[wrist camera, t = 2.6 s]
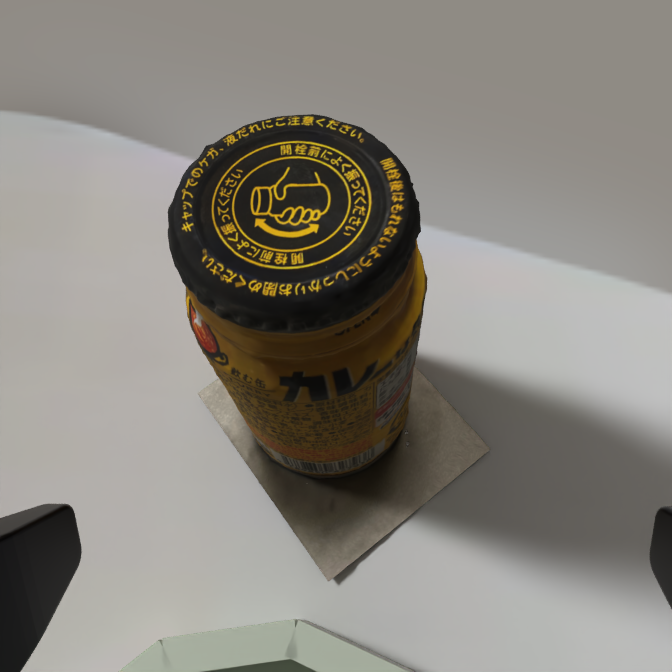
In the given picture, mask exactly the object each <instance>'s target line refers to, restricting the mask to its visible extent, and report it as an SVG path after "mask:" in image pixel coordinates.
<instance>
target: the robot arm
mask: <svg viewBox="0 0 672 672" xmlns="http://www.w3.org/2000/svg"><path fill="white" fill-rule="evenodd" d="M80 559H81V543H80V538H79V533H78V528H77V523H76V518H75V513H74V510H73V508H72V507H71V506H70V505H68V504H44V505H40V506H37V507H34V508H31V509H28V510H24V511H21V512H18V513H15V514H12V515H9V516H6V517H3V518H0V672H20V671H21V670H22V668H23V667H24V665H25V664H26V662H27V661H28V659H29V658H30V656H31V654H32V653H33V651H34V650H35V648H36V646H37V645H38V643H39V641H40V639H41V638H42V636H43V634H44V632H45V630H46V629H47V627H48V625H49V623H50V621H51V619H52V617H53V615H54V613H55V611H56V609H57V607H58V605H59V603H60V601H61V599H62V597H63V595H64V593H65V591H66V589H67V588H68V586H69V584H70V582H71V580H72V578H73V576H74V574H75V572H76V570H77V568H78V566H79V563H80ZM650 563H651V567H652V570H653V573H654V575H655V577H656V579H657V581H658V583H659V585H660V587H661V589H662V591H663V593H664V595H665V597H666V599H667V601H668V603H669V605H670V607H671V609H672V506H664V507H661V508H660V509H659V510H658V511H657V514H656V517H655V523H654V529H653V535H652V541H651V547H650Z"/></svg>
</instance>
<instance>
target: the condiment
mask: <svg viewBox="0 0 672 672" xmlns="http://www.w3.org/2000/svg"><path fill="white" fill-rule="evenodd" d="M168 222H169V228H168V239H169V247H170V251H171V254H172V258H173V261H174V264H175V267H176V268H177V270H178V272H179V274H180V276H181V279H182V282H183V283H184V284H185V286H186V306H187V315H188V318H189V321H190V325H191V328H192V330H193V332H194V334H195V337H196V339H197V342H198V344H199V346H200V348H201V349H202V351H203V354H205V356H206V357H207V359H208V361H209V362H210V364H211V366H212V367H213V369H214V371H215V372H216V375H217V376H218V377H219V379H217V380H216V381H214V382H213V383H211V384H210V385H209V386H207V387H206V388H204V389H203V390H202V391H200V392H199V393H198V395H199V396H200V398H201V399H202V400H203V402H204V403H205V405H206V406H207V408H208V409H209V410H210V412H211V413H212V415H213V416H214V418H215V419H216V421H217V422H218V423H219V425H220V426H221V428H222V429H223V431H224V432H225V433H226V435H227V436H228V438H229V439H230V441H231V442H232V443H233V445H234V446H235V448H236V449H237V451H238V452H239V454H240V455H241V457H242V458H243V459H244V461H245V462H246V464H247V465H248V466H249V468H250V469H251V471H252V472H253V474H254V475H255V477H256V478H257V479H258V481H259V483H260V484H261V485H262V487H263V488H264V490H265V491H266V492H267V494H268V495H269V497H270V498H271V500H272V501H273V502H274V504H275V505H276V507H277V508H278V510H279V511H280V513H281V514H282V515H283V517H284V519H285V520H286V521H287V523H288V524H289V525H290V527H291V528H292V530H293V532H294V533H295V534H296V536H297V537H298V538H299V540H300V541H301V543H302V544H303V546H304V547H305V548H306V550H307V551H308V553H309V554H310V556H311V557H312V559H313V560H314V561H315V563H316V564H317V566H318V567H319V569H320V570H321V571H322V573H323V574H324V576H325V577H326V579H327V580H328V581H330V580H331V579H332V578H334V577H335V576H336V575H337V574H339V573H340V572H341V571H342V570H344V569H345V568H346V567H347V566H348V565H350V564H351V563H352V562H354V561H355V560H356V559H357V558H359V557H360V556H361V555H362V554H363V553H365V552H366V551H367V550H368V549H370V548H371V547H372V546H373V545H375V544H376V543H377V542H378V541H379V540H380V539H381V538H383V537H384V536H385V535H387V534H388V533H390V532H391V531H392V530H393V529H394V528H395V527H397V526H398V525H399V524H400V523H401V522H403V521H404V520H405V519H406V518H408V517H409V516H410V515H411V514H412V513H414V512H415V511H416V510H417V509H419V508H420V507H421V506H422V505H424V503H426V502H428V501H429V500H430V499H431V498H432V497H433V496H434V495H436V494H437V493H438V492H439V491H440V490H441V489H442V488H444V487H445V486H446V485H448V484H449V483H450V482H451V481H453V480H454V479H455V478H456V477H458V476H459V475H460V474H461V473H463V472H464V471H465V470H466V469H467V468H468V467H470V466H471V465H472V464H473V463H474V462H476V461H477V460H478V459H479V458H481V457H482V456H483V455H484V454H485V453H487V452H488V451H489V450H490V448H489V447H488V446H487V445H486V444H485V443H484V442H483V441H482V439H481V438H480V437H479V436H478V434H477V433H476V432H475V431H474V430H473V429H472V428H471V427H470V426H469V425H468V424H467V423H466V422H465V421H464V420H463V419H462V417H461V416H460V415H459V414H458V412H457V411H456V410H455V409H454V408H453V407H452V406H451V405H450V404H449V403H448V402H447V401H446V400H445V399H444V398H443V396H442V395H441V394H440V393H439V392H438V391H437V389H436V388H435V387H434V386H433V385H432V384H431V383H430V382H429V381H428V380H427V379H426V378H425V376H424V375H423V374H422V373H421V372H420V371H419V370H418V369H417V368H416V367H415V366H414V365H415V359H416V355H417V346H418V341H419V336H420V328H421V322H422V321H421V320H422V316H423V306H424V300H425V294H426V291H427V276H426V274H425V270H424V266H423V259H422V256H421V253H420V251H419V249H418V245H417V240H416V239H417V237H418V234H419V233H420V232H421V227H420V212H419V202H418V201H417V199H416V195H415V192H414V190H413V183H411V180H410V175H409V173H408V171H407V170H406V168H405V167H404V165H403V164H402V163H401V161H400V160H399V159H398V158H397V156H396V155H394V154H393V153H392V152H391V151H390V150H389V149H388V147H387V146H386V145H385V144H383V143H382V142H380V141H378V139H376V138H375V137H374V136H373V135H371V134H370V133H368V132H366V131H365V130H364V129H363V128H360V127H358V126H355V125H351V124H347V123H343V122H340V121H336V120H334V119H332V118H329V117H325V116H320V115H313V114H312V115H294V116H281V117H275V118H270V119H267V120H262V121H257V122H255V123H252V124H248V125H245V126H243V127H241V128H240V129H238V130H236V131H234V132H233V133H231V134H228V135H226V136H224V137H223V138H221V139H220V140H219V141H217V142H216V143H214V144H211V145H208V146H206V147H205V148H204V150H203V152H202V154H201V155H200V157H199V158H198V159H197V160H196V161H195V162H193V163H192V164H191V165H190V166H189V168H188V169H187V170H186V172H185V173H184V175H183V176H182V179H181V182H180V184H179V186H178V188H177V190H176V192H175V196H174V199H173V202H172V203H171V205H170V207H169V209H168ZM406 430H407V432H408V434H406V435H405V431H406ZM406 442H409V445H408V447H406Z"/></svg>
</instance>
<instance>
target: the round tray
mask: <svg viewBox="0 0 672 672" xmlns="http://www.w3.org/2000/svg"><path fill="white" fill-rule="evenodd" d="M119 672H415V671H413V670H411V669H409V668H406V667H404V666H402V665H400V664H398V663H396V662H394V661H391V660H389V659H387V658H385V657H383V656H381V655H379V654H377V653H374V652H372V651H370V650H368V649H366V648H364V647H362V646H359V645H357V644H355V643H353V642H351V641H349V640H347V639H345V638H342V637H340V636H338V635H336V634H334V633H332V632H330V631H328V630H325V629H323V628H321V627H319V626H317V625H315V624H313V623H310V622H308V621H306V620H297V619H293V620H286V621H279V622H272V623H265V624H258V625H251V626H244V627H237V628H230V629H223V630H216V631H209V632H202V633H195V634H188V635H181V636H174V637H167V638H163V640H158V641H157V642H155V643H154V644H153V645H152V646H150V647H149V648H148V649H147V650H145V651H144V652H143V653H141V654H140V655H139V656H138V657H136V658H135V659H134V660H133V661H131V662H130V663H129V664H128V665H126V666H125V667H124V668H122V669H121V670H120V671H119Z"/></svg>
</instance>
